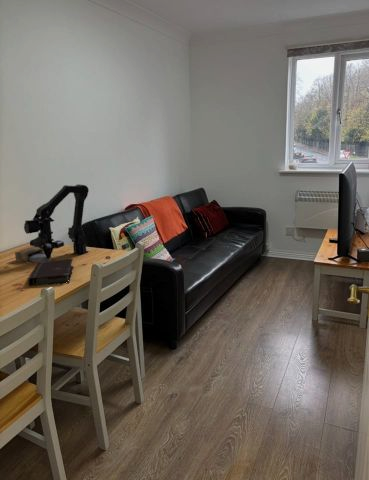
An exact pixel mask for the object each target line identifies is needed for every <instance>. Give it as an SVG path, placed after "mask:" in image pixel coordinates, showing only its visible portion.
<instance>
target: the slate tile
mask: <svg viewBox="0 0 369 480" xmlns="http://www.w3.org/2000/svg"><path fill="white" fill-rule="evenodd" d="M51 258H52V255H51V256H50V258H49V259H47V257H46V255H45V254H37V253H33V254H30V255H28V260H29V262H34V263H38V262H43V261H50V260H52V259H51Z"/></svg>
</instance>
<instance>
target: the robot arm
mask: <svg viewBox="0 0 369 480" xmlns="http://www.w3.org/2000/svg"><path fill="white" fill-rule="evenodd" d="M89 191H90V190H89V187H88V186H87V184H86V185H85V184H75V185H63V186H62V187H61V189H60V190H59V191H58V192H57V193H55V195H53V197H51V199H49V201H47V202H45V203H44V204H42V205H40V206H39V207H38V208H36V213H35V214H34V216H33V218H32V219H31V220H27V219H26V220H25V221H24V225H23V229H24V232H25V234H27V235H28V234H33V233H38V231H40V233H38V234H37V237H36V238H33V239H31V240H30V241H29V245H30V246H29V247H31V246H34V247H39V248H41V249H42V250H43V251H44V253H45V255H46V257H47V259H49V258H50V256H51V257H52V253H53V250H54V249H59V248H62V247H65V242H64V241H63V240H54V238H53V234H54V232H53V230H52V225H51V223H52V222H55V219H53V218H52V215H53V213H54V211H55V209H56V207H58V205H59V204H61V202H62V201H64V199H66V197H68V195H70V194H73V196H74V199H75V203H74V210H73V219H72V220H73V221H72V225H71V227H68V233H67V235H68V238H69V239H70V240H71V243H73V251H72V255H84V254H86V253H89V251H88V250H87V244H88V239H87V238H86V237H85V236H84V230H83V226H82V225H83V215H84V207H85V201H86V199H87V198H88V194H89ZM51 230H52V231H51ZM49 260H50V259H49Z"/></svg>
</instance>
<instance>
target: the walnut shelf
mask: <svg viewBox="0 0 369 480" xmlns="http://www.w3.org/2000/svg"><path fill="white" fill-rule="evenodd" d="M33 253H37V254H45V253H44V251H43V250H42V249H41V248H39V247H34V246H28V247H26V248H23V249H19V250H16V251H14V257H15V261H16V262H19V263H28V262H30V261H29V260H28V255H30V254H33Z"/></svg>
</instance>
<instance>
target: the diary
mask: <svg viewBox="0 0 369 480" xmlns="http://www.w3.org/2000/svg"><path fill="white" fill-rule="evenodd" d="M73 270H74V266H73V258H62V259H49V260H47V261H43V262H36V265H35V267H34V268H33V270H32V272H31V274H30V276H29V277H28V280H27V283H28V287H31V286H32V284H33V285H34V286H36V285H37V286H41V285H47V286H49V285H50V286H51V285H63V284H62V283H66V282H67V283H66V284H69V283H70V281H71V279H70V278H71V277H72V275H73ZM68 280H69V281H68ZM58 283H60V284H58Z"/></svg>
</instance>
